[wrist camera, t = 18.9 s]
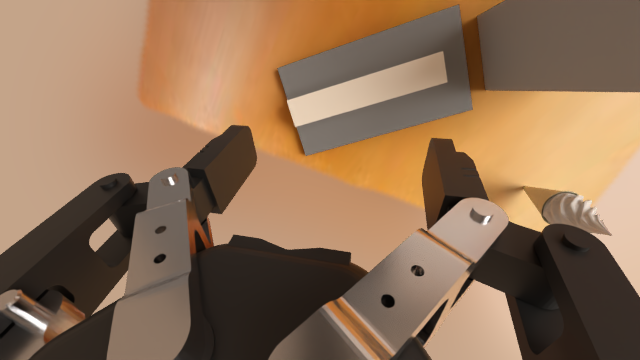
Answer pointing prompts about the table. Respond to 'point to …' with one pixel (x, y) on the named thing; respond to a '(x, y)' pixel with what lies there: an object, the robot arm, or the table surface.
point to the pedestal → (561, 45)
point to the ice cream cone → (566, 209)
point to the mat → (376, 56)
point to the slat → (369, 89)
